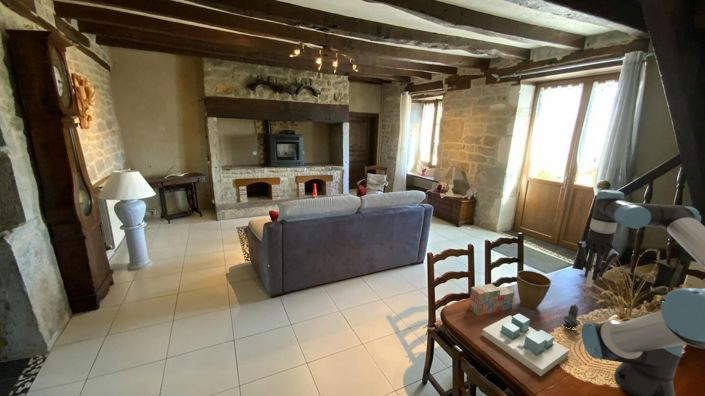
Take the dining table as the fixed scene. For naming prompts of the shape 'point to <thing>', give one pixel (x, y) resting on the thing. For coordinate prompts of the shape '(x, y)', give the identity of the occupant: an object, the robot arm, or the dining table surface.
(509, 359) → the dining table surface
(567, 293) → the dining table surface
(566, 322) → the dark grey tall piece
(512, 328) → the button
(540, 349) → the button
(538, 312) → the dining table surface
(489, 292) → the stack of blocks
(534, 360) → the board
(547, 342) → the button
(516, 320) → the button
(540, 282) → the plant pot
